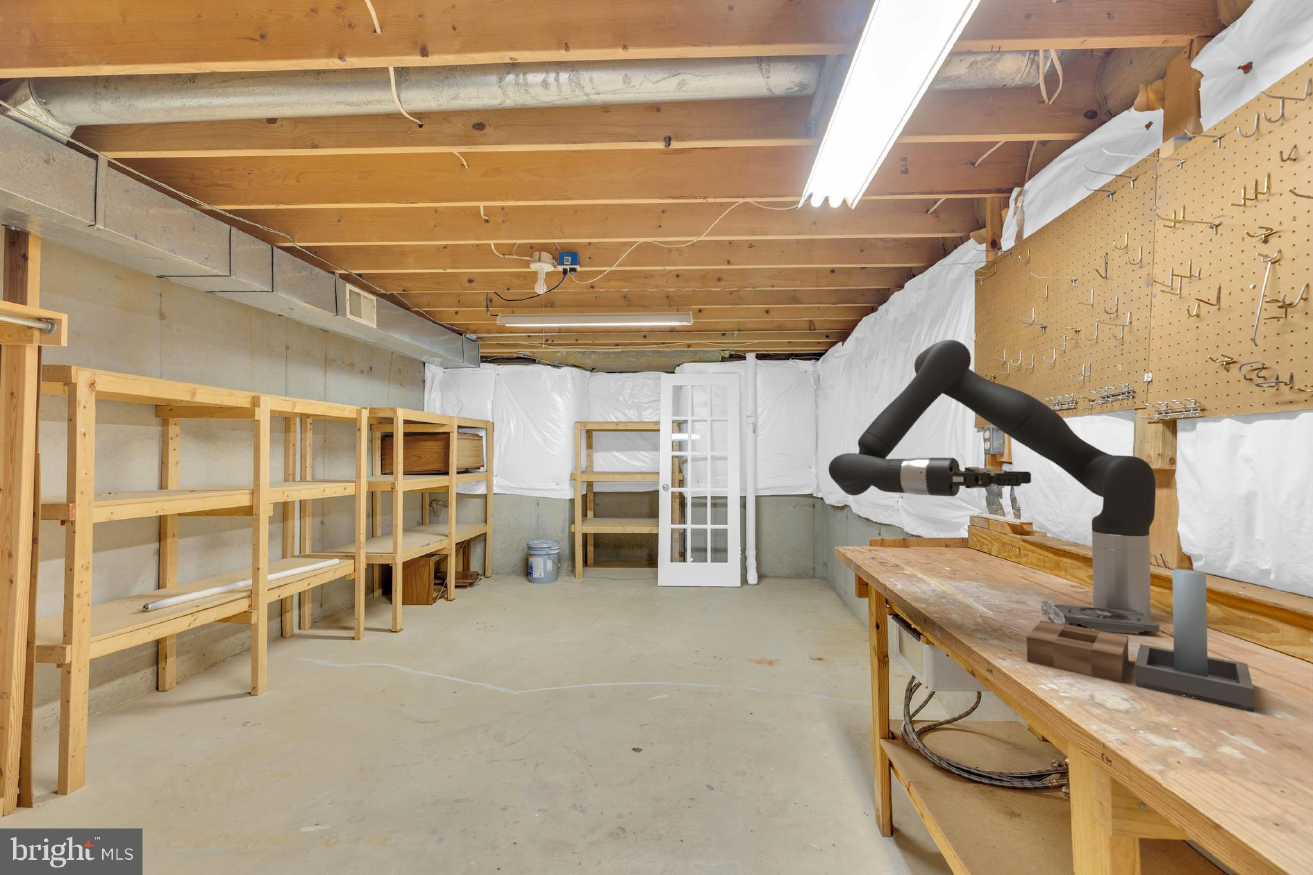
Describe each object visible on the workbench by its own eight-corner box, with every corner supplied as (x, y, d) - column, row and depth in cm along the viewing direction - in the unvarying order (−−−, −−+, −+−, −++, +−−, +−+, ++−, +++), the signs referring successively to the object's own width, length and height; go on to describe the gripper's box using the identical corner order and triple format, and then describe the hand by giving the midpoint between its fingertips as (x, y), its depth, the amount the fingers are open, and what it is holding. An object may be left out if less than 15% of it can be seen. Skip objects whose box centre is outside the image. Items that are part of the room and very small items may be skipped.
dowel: (1174, 673, 85) (1172, 568, 86) (1207, 680, 83) (1205, 571, 83) (1174, 680, 83) (1172, 571, 83) (1208, 687, 80) (1206, 575, 80)
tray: (1140, 662, 91) (1140, 643, 91) (1247, 683, 83) (1247, 663, 83) (1135, 685, 82) (1134, 664, 83) (1254, 711, 74) (1253, 689, 74)
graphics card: (1057, 615, 107) (1040, 598, 118) (1057, 635, 107) (1040, 616, 118) (1169, 626, 100) (1140, 607, 112) (1169, 647, 100) (1140, 626, 112)
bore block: (1041, 642, 100) (1040, 620, 101) (1128, 660, 92) (1128, 635, 92) (1027, 661, 92) (1026, 636, 92) (1122, 682, 84) (1121, 655, 84)
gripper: (917, 458, 106) (1017, 458, 95) (940, 456, 117) (1033, 457, 106) (918, 497, 106) (1018, 502, 95) (941, 492, 117) (1034, 496, 106)
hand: (1026, 478), depth 100 cm, fingers open, 8 cm apart
